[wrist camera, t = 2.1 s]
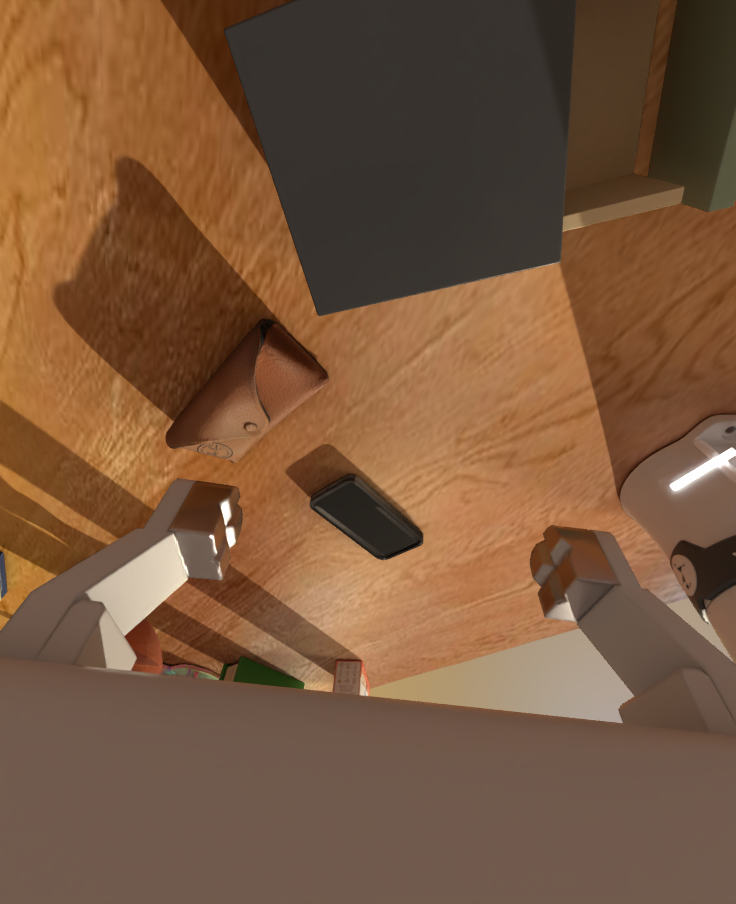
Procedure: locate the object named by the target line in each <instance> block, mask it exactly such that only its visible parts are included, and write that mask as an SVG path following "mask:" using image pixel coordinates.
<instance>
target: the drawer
mask: <svg viewBox="0 0 736 904" xmlns="http://www.w3.org/2000/svg"><path fill="white" fill-rule="evenodd" d="M659 1H660V0H577V2H576V19H575V35H574V52H573V69H572V85H571V102H570V118H569V135H568V151H567V168H566V184H565V201H564V217H563V231H567V230H571V229H576V228H580V227H584V226H588V225H592V224H597V223H601V222H605V221H609V220H613V219H618V218H622V217H626V216H630V215H634V214H639V213H643V212H647V211H651V210H655V209H660V208H664V207H668V206H672V205H676V204H680V203H681V204H684V205H688V206H691V207H694V208H697V209H700V210H703V211H707V212H711V211H715V210H719V209H724V208H728V207H732V206H733V205H734V202H735V199H736V0H677V5H676V11H675V17H674V23H673V29H672V35H671V41H670V47H669V53H668V59H667V65H666V71H665V76H664V82H663V88H662V94H661V100H660V106H659V112H658V118H657V124H656V130H655V136H654V142H653V147H652V153H651V159H650V165H649V171H648V177H645V176H641V175H637V174H634V167H635V161H636V154H637V147H638V141H639V134H640V127H641V121H642V114H643V107H644V101H645V94H646V87H647V81H648V74H649V67H650V61H651V54H652V47H653V41H654V34H655V27H656V21H657V14H658V7H659Z"/></svg>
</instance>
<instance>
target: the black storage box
mask: <svg viewBox="0 0 736 904" xmlns="http://www.w3.org/2000/svg"><path fill="white" fill-rule="evenodd" d="M576 2H577V0H293V1H290V2H288V3H285V4H283V5H280V6H278V7H275V8H273V9H271V10H268V11H266V12H263V13H261V14H258V15H256V16H253V17H251V18H248V19H246V20H244V21H241V22H239V23H236V24H234V25H231V26H229V27H226V28H225V29H224V33H225V36H226V39H227V42H228V45H229V48H230V51H231V54H232V57H233V60H234V63H235V66H236V69H237V72H238V76H239V79H240V82H241V85H242V88H243V91H244V94H245V97H246V100H247V103H248V106H249V109H250V112H251V115H252V118H253V121H254V124H255V127H256V130H257V133H258V136H259V139H260V142H261V145H262V148H263V151H264V154H265V157H266V160H267V163H268V166H269V169H270V172H271V175H272V178H273V181H274V184H275V187H276V190H277V193H278V196H279V199H280V202H281V205H282V208H283V212H284V215H285V218H286V221H287V224H288V227H289V230H290V233H291V236H292V239H293V242H294V245H295V248H296V251H297V254H298V257H299V260H300V263H301V266H302V269H303V272H304V275H305V278H306V281H307V284H308V287H309V290H310V293H311V296H312V299H313V302H314V305H315V308H316V311H317V314H318V316H322V315H327V314H331V313H336V312H340V311H345V310H349V309H354V308H358V307H363V306H367V305H372V304H376V303H381V302H385V301H390V300H394V299H399V298H403V297H408V296H412V295H417V294H421V293H425V292H430V291H434V290H439V289H443V288H448V287H452V286H457V285H461V284H466V283H470V282H475V281H479V280H484V279H488V278H493V277H497V276H502V275H506V274H511V273H515V272H520V271H524V270H529V269H533V268H537V267H542V266H546V265H551V264H555V263H559V262H561V250H562V234H563V217H564V201H565V184H566V168H567V151H568V135H569V118H570V102H571V85H572V69H573V52H574V35H575V19H576Z"/></svg>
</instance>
